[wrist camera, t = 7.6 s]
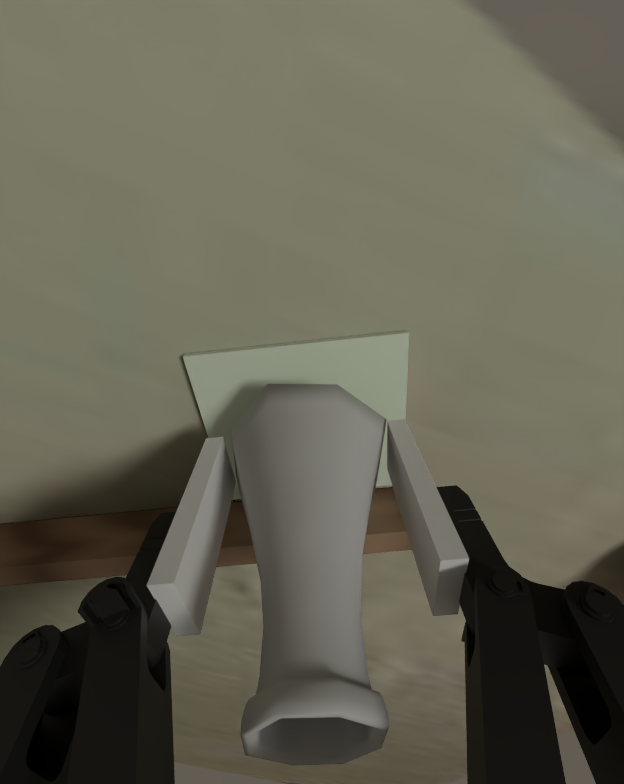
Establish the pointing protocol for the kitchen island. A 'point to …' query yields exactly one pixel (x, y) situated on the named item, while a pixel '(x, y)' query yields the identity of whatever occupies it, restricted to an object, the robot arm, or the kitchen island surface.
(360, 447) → the flask
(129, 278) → the kitchen island surface
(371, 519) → the rail
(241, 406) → the board
